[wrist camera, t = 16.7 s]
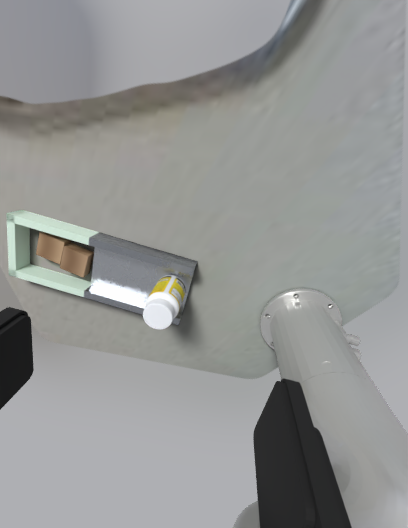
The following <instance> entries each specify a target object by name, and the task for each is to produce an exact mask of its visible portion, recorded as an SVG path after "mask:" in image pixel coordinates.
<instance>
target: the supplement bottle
mask: <svg viewBox="0 0 408 528" xmlns="http://www.w3.org/2000/svg"><path fill="white" fill-rule="evenodd" d="M185 292H186V287H185V284H184V282H183V281H182V280H181V279H180V278H179V277H177V276H174V275H166V276H163V277H162V278H160V279H159V281H158V282H157V284H156V285H155V287H154V289H153V290H152V292H151V293H150V295H149V297H148V298H147V300H146V305H145V306H146V307H145V309H144V311H143V318H144V321H145V322H146V323H147V325H149V326H150V327H152V328H154V329H165V328H167V327H168V326H169V325H170V324H171V323H172V320H173V319H174V318H175V317H176V316H177V314H178V312H179V309H180V307H181V304H182V301H183V298H184V295H185Z"/></svg>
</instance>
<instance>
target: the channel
mask: <svg viewBox="0 0 408 528" xmlns="http://www.w3.org/2000/svg"><path fill="white" fill-rule="evenodd" d="M89 245H90V246H93V247H95V250H94V259H93V269H92V278H91V286H89V287H88V288H87V289H86V290H85V291H84V297H85V298H88V299H91V300H95V301H98V302H102V303H105V304H108V305H112V306H115V307H118V308H122V309H125V310H129V311H132V312H135V313H139V314H142V315H143V311H144V309H145V307H146V306H145V305H146V300H147V298H148V297H149V295H150V293H151V292H152V290H153V289H154V287H155V285H156V284H157V282H158V281H159V279H160V278H162V277H163V276H166V275H174V276H177V277H179V278H180V279H181V280H182V281H183V282H184V284H185V287H186V292H185V295H184V298H183V301H182V304H181V307H180V309H179V312H178V314H177V316H176V317H175V318H174V319H173V320H172V323H173V324H176V325H179V322H180V319H181V316H182V313H183V310H184V306H185V302H186V299H187V295H188V292H189V288H190V285H191V281H192V278H193V274H194V270H195V267H196V263H197V261H194V260H191V259H188V258H184V257H181V256H177V255H174V254H171V253H167V252H164V251H160V250H157V249H154V248H150V247H147V246H143V245H140V244H137V243H133V242H130V241H127V240H123V239H120V238H116V237H113V236H110V235H106V234H103V233H97V234H95V235H93V236H91V237H89Z"/></svg>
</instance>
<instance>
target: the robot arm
mask: <svg viewBox="0 0 408 528" xmlns="http://www.w3.org/2000/svg"><path fill="white" fill-rule="evenodd" d="M294 294H295V295H294ZM260 329H261V333H262V336H263V338H264V340H265V342H266V343H267V344H268V345H269V346H270V347H271V348H272V349H274V350H275V353H276V357H277V362H278V366H279V370H280V375H281V382H280V381H277V382H276V383H275V385H274V388H273V390H272V392H271V394H270V396H269V398H268V401H267V403H266V405H265V407H264V409H263V412H262V414H261V416H260V418H259V420H258V422H257V425H256V427H255V430H254V453H255V466H256V478H257V493H258V501H256V502H254V503H252V504H251V505H249V506H248V507H247V508H245V509H244V510H243V511H242V513H241V514H240V515H239V516H238V518H237V520H236V522H235V524H234V527H233V528H408V433H407V432H406V430H405V429H404V428H403V426H402V425H401V423H400V422H399V420H398V419H397V417H396V416H395V415H394V413H393V412H392V410H391V409H390V407H389V406H388V404H387V402H386V401H385V399H384V398H383V396H382V395H381V393H380V392H379V390H378V389H377V387H376V386H375V384H374V382H373V381H372V379H371V378H370V376H369V375H368V373H367V372H366V370H365V368H364V367H363V365H362V364H361V362H360V361H359V360H360V358H361V353H360V351H359V350H358V349H354V348H351V346H350V345H349V344H353V345H356V346H358V345H359V344H360V338H359V337H357V336H354V335H349V334H346V332H345V331H344V329H343V328H342V316H341V313H340V310H339V309H338V307H337V305H336V304H335V303H334V302H333V300H332V299H331V298H329V297H328V296H327V295H325V294H323V293H321V292H319V291H316V290H313V289H306V288H300V289H292V290H288V291H285V292H283V293H280V294H279V295H277V296H275V297H274V298H273V299H272V300H270V301H269V302H268V304H267V305H266V306H265V307H264V309H263V311H262V314H261V318H260ZM32 373H33V352H32V334H31V319H30V317H29V316H28V314H27V312H26V311H22V310H18V309H14V308H10V307H9V308H6V309H4V310H2V311H1V312H0V409H1V408H2V407H3V406H4V405H5V404H6V403H7V402H8V401H9V400H10V399H11V398H12V397H13V395H15V394H16V393H17V392H18V390H19V389H20V388H21V387H22V386H23V385H24V384H25V383H26V382H27V381H28V380H29V379H30V377H31V375H32Z"/></svg>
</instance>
